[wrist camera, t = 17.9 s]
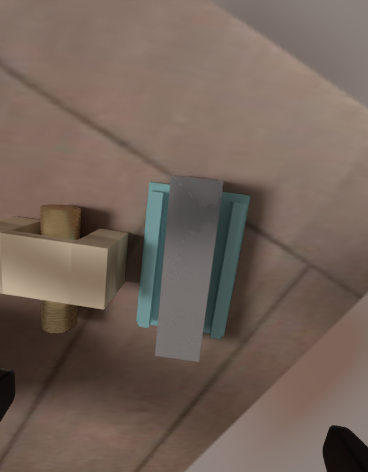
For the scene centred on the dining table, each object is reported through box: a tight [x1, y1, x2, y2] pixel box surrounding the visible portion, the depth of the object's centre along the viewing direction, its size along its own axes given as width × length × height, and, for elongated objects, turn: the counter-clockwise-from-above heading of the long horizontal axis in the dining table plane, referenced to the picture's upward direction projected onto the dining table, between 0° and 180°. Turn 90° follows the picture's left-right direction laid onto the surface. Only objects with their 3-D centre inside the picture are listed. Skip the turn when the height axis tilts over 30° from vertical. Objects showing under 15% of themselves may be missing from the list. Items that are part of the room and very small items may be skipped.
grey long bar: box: [155, 175, 224, 362], centre depth 17 cm, size 12×3×3 cm, turn 174°
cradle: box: [136, 182, 251, 339], centre depth 18 cm, size 7×11×2 cm, turn 173°
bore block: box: [0, 216, 129, 309], centre depth 18 cm, size 4×9×4 cm, turn 83°
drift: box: [40, 205, 81, 333], centre depth 19 cm, size 9×2×2 cm, turn 173°
